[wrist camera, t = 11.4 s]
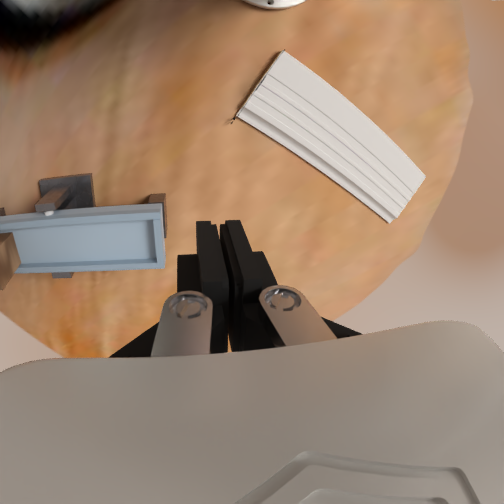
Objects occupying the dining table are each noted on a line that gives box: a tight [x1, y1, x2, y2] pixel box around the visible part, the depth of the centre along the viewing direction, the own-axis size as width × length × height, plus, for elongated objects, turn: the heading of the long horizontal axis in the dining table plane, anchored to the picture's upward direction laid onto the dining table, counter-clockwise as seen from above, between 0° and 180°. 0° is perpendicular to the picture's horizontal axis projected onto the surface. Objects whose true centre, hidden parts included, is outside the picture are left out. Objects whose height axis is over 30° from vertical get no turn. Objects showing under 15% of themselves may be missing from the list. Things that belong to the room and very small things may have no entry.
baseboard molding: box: [231, 49, 426, 223], centre depth 41 cm, size 31×3×12 cm
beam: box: [0, 203, 166, 273], centre depth 32 cm, size 8×28×3 cm, turn 86°
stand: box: [0, 173, 167, 278], centre depth 35 cm, size 12×28×8 cm, turn 86°
